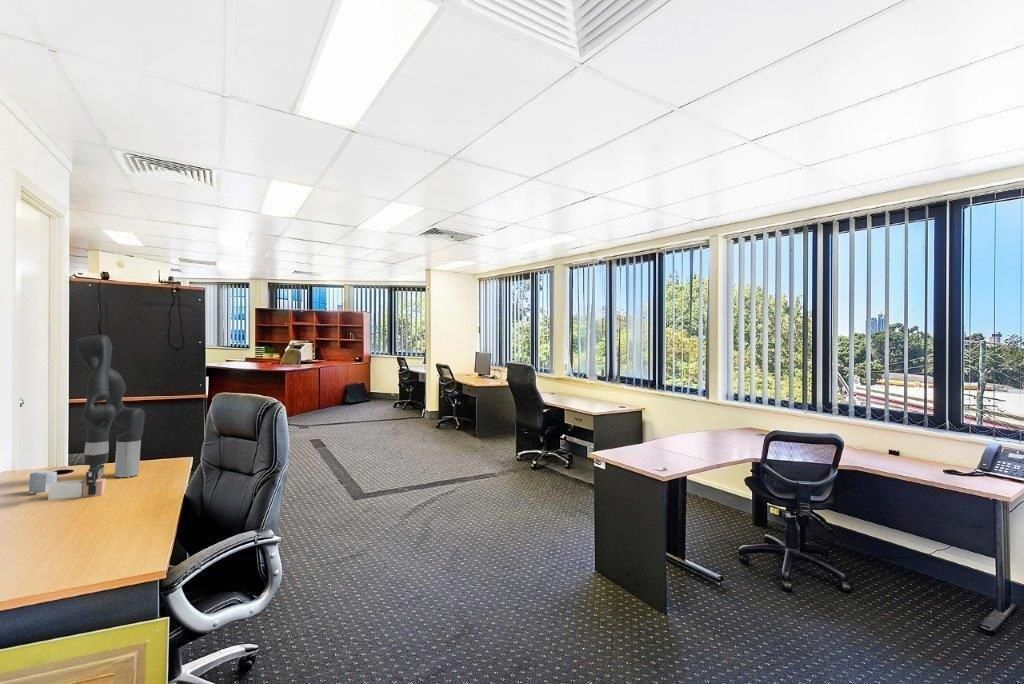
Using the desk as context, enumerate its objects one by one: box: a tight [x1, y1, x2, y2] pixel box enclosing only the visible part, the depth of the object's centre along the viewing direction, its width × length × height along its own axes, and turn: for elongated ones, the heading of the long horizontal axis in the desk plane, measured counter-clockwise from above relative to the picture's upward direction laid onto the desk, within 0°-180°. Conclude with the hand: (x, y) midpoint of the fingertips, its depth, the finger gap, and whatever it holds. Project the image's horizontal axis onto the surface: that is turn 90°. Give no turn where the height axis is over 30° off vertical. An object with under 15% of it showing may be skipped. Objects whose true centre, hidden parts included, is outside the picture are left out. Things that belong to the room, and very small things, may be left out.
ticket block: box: [47, 479, 86, 501], centre depth 187 cm, size 5×10×6 cm, turn 119°
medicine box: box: [28, 470, 58, 494], centre depth 195 cm, size 8×4×9 cm, turn 84°
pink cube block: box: [81, 478, 107, 498], centre depth 191 cm, size 5×6×6 cm
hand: (93, 492), depth 191 cm, fingers closed on pink cube block, 5 cm apart
